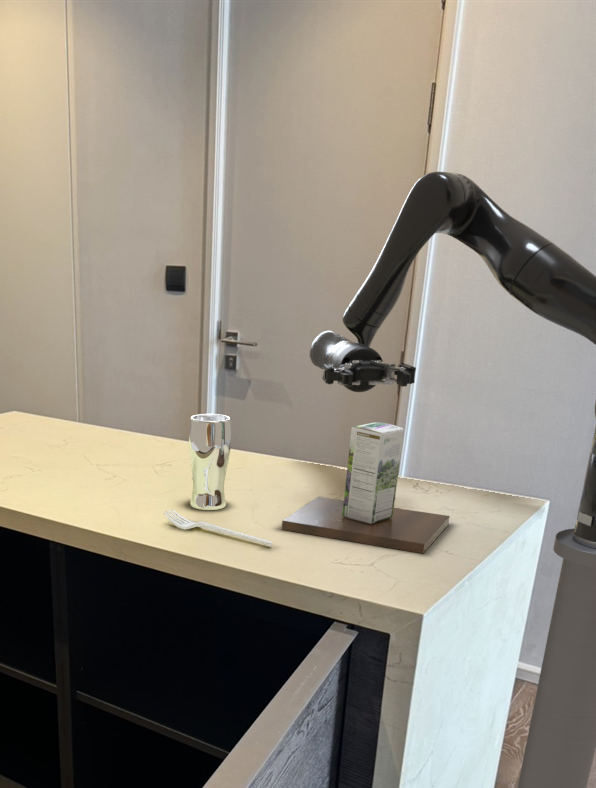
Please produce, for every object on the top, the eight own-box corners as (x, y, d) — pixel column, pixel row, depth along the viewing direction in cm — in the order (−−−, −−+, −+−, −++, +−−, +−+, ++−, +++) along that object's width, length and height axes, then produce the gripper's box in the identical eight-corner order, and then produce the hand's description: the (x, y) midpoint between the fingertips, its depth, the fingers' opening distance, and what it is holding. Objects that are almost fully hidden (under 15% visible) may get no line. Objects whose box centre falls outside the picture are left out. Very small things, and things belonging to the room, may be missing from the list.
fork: (265, 550, 126) (266, 538, 125) (160, 523, 138) (160, 512, 138) (277, 545, 128) (278, 533, 128) (173, 519, 141) (173, 508, 140)
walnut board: (448, 524, 138) (449, 515, 137) (423, 553, 125) (424, 543, 125) (317, 504, 148) (318, 496, 148) (281, 529, 135) (282, 520, 135)
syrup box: (363, 510, 140) (372, 420, 134) (394, 518, 136) (404, 426, 130) (341, 516, 137) (349, 425, 131) (372, 525, 132) (382, 431, 127)
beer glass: (206, 497, 152) (208, 412, 146) (236, 505, 148) (240, 417, 142) (179, 505, 148) (180, 417, 142) (209, 513, 143) (212, 423, 137)
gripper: (316, 344, 148) (334, 355, 133) (399, 343, 148) (426, 354, 133) (313, 388, 151) (330, 404, 136) (394, 388, 151) (421, 404, 136)
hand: (378, 379), depth 134 cm, fingers open, 8 cm apart
